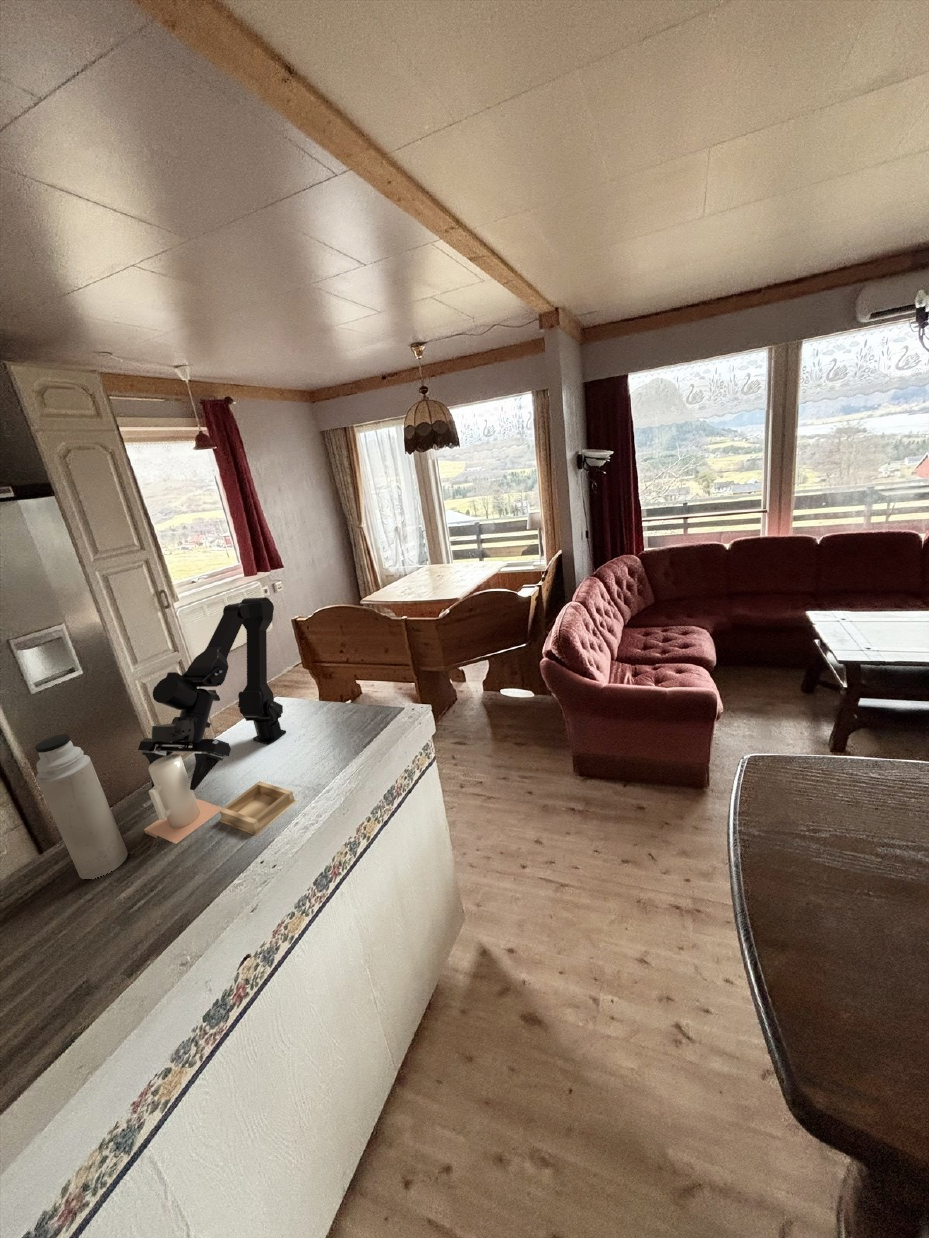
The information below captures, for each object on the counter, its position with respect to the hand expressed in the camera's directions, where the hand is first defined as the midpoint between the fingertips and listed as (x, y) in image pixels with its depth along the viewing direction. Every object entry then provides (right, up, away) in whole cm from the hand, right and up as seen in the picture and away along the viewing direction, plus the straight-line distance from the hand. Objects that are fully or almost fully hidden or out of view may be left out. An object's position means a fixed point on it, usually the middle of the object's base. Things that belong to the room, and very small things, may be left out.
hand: (173, 789), depth 103 cm
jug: (+1, -8, +2) cm, 8 cm away
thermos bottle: (-10, -13, -6) cm, 17 cm away
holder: (+17, -6, +3) cm, 18 cm away
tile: (+1, -8, +3) cm, 9 cm away
